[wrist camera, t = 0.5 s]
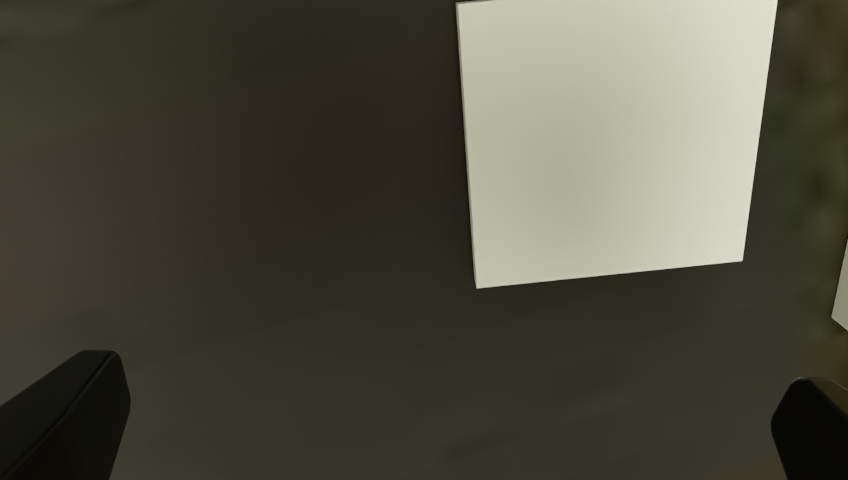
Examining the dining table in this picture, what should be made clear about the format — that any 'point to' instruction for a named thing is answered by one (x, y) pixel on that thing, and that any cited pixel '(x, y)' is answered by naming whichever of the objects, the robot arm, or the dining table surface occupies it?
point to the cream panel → (610, 133)
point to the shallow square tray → (842, 295)
